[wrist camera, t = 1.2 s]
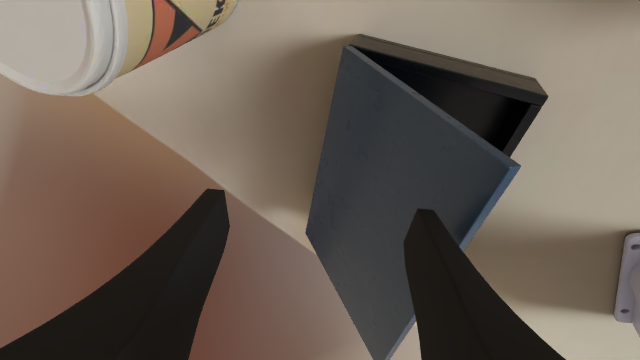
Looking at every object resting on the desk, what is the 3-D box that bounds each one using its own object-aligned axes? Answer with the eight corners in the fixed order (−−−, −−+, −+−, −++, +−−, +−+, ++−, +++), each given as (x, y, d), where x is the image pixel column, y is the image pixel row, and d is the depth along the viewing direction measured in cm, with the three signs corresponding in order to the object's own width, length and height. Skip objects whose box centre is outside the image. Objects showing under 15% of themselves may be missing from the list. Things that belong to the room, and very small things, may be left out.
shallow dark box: (535, 78, 19) (549, 96, 17) (436, 246, 28) (436, 272, 26) (359, 33, 20) (348, 44, 18) (320, 207, 30) (309, 229, 27)
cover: (522, 165, 10) (510, 168, 10) (386, 365, 20) (378, 369, 19) (352, 46, 18) (342, 45, 18) (311, 231, 27) (305, 232, 27)
